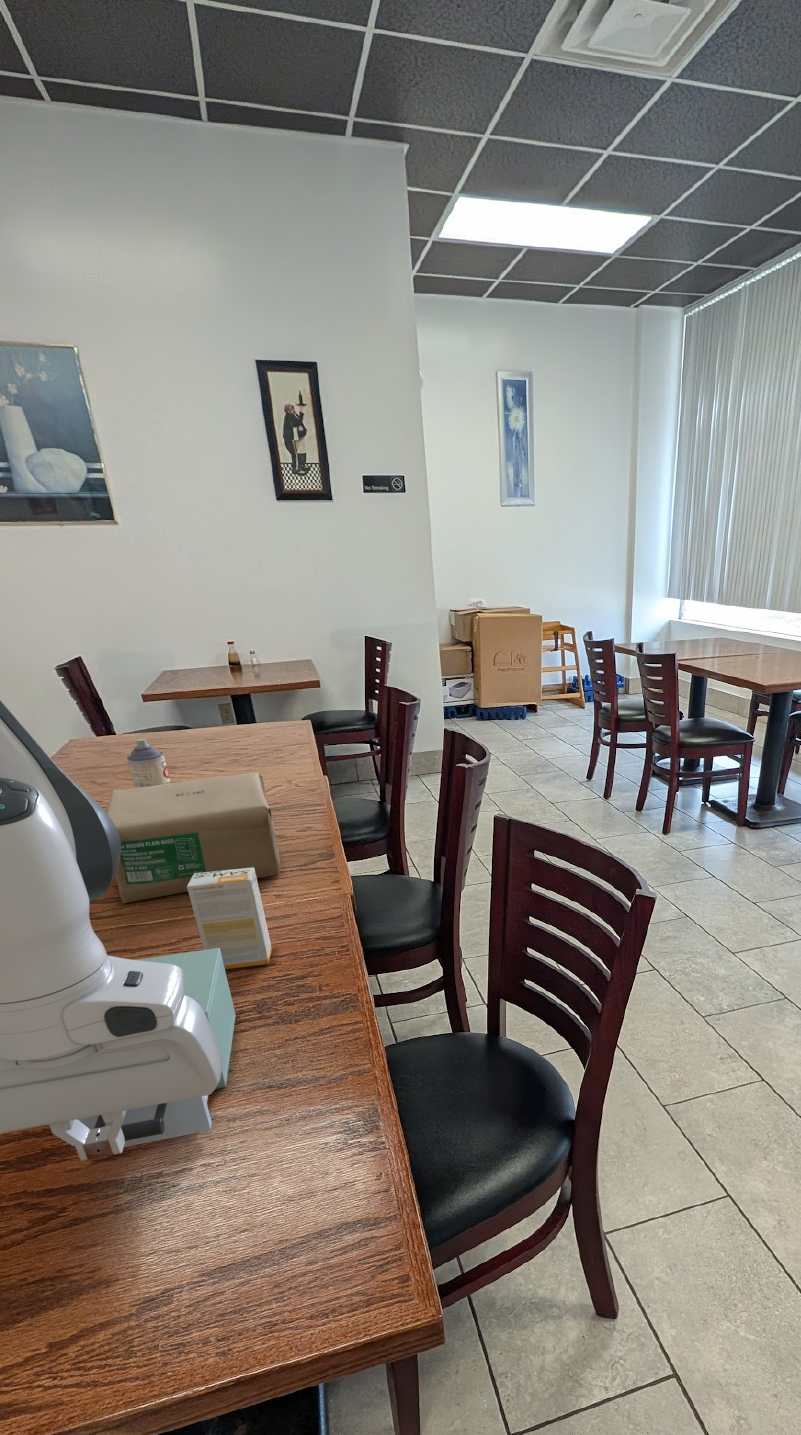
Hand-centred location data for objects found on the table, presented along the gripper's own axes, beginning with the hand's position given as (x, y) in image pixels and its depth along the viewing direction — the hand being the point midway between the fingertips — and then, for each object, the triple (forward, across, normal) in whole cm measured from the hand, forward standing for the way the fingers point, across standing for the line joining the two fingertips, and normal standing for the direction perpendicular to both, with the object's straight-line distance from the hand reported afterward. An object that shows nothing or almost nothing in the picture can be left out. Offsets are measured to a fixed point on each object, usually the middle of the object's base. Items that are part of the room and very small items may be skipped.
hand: (104, 1151), depth 60 cm
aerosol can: (+9, -13, +109) cm, 110 cm away
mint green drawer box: (+9, 0, +25) cm, 27 cm away
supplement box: (+9, +6, +47) cm, 48 cm away
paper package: (+9, -3, +87) cm, 88 cm away
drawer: (+8, 0, +14) cm, 16 cm away
